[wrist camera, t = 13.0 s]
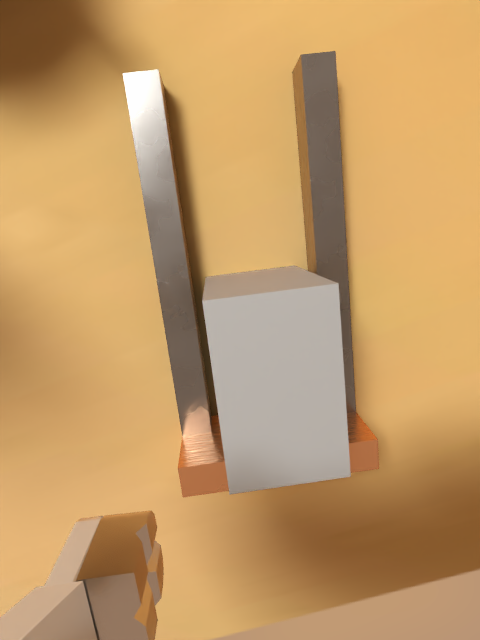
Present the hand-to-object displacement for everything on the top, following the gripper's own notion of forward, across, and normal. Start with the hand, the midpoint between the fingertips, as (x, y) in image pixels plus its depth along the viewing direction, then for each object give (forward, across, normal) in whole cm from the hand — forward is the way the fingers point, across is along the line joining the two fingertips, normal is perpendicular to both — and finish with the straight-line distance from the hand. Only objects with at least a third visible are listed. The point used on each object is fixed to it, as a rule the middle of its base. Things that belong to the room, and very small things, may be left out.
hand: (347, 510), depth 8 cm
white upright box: (+15, 0, 0) cm, 15 cm away
